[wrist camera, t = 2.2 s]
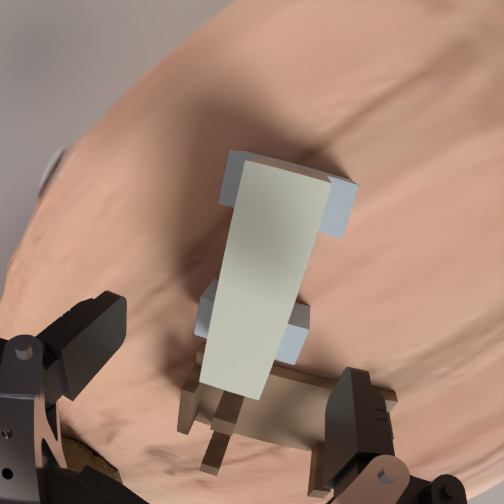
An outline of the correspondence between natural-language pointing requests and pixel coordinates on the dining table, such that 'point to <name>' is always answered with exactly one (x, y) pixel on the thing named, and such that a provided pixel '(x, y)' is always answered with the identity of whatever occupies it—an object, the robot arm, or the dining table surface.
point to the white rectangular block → (261, 272)
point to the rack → (264, 415)
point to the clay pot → (85, 459)
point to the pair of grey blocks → (330, 224)
